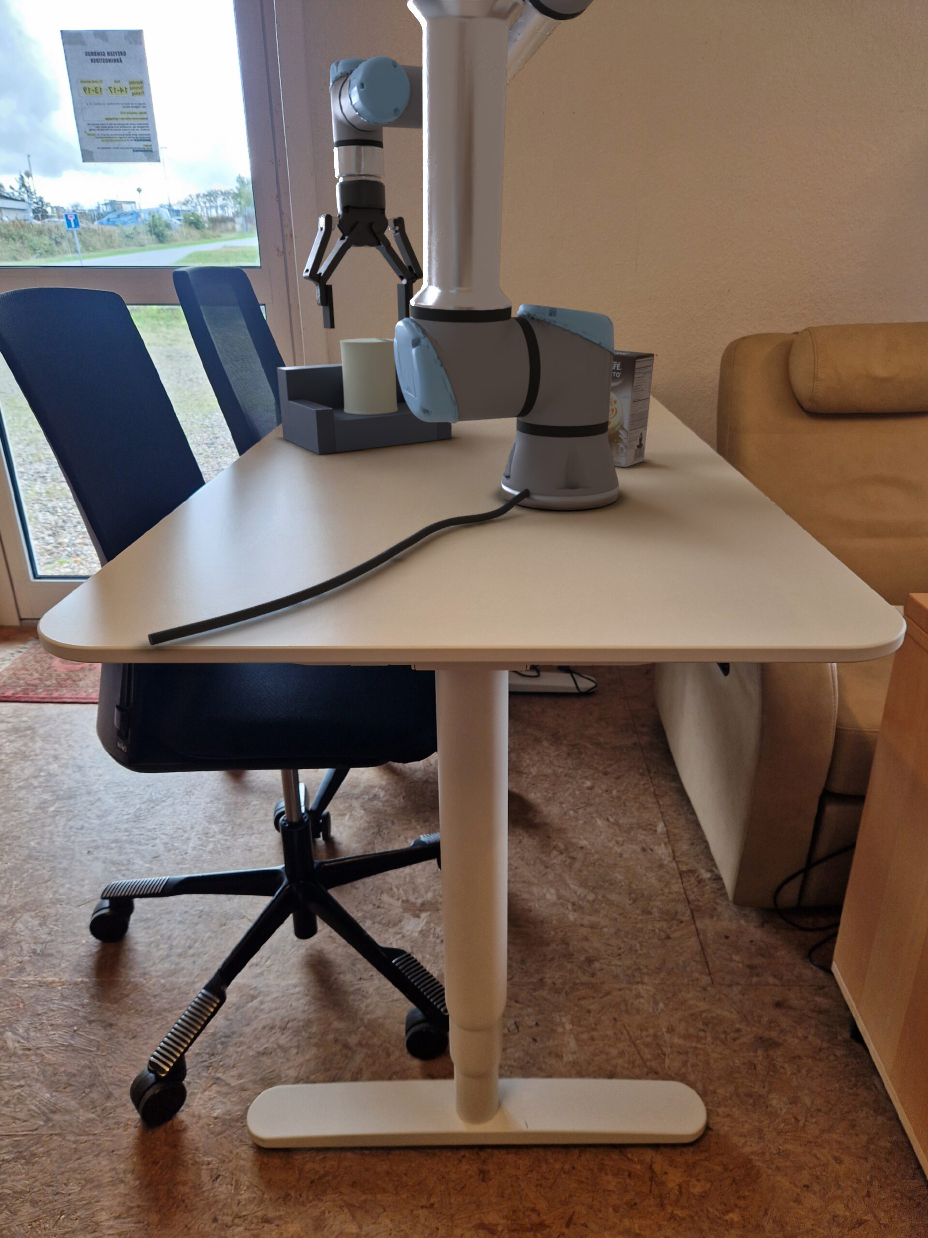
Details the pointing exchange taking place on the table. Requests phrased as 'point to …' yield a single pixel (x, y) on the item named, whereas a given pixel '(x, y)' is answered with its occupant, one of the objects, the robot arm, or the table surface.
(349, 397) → the can
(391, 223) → the robot arm
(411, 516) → the table surface
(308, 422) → the couch
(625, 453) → the coffee box
